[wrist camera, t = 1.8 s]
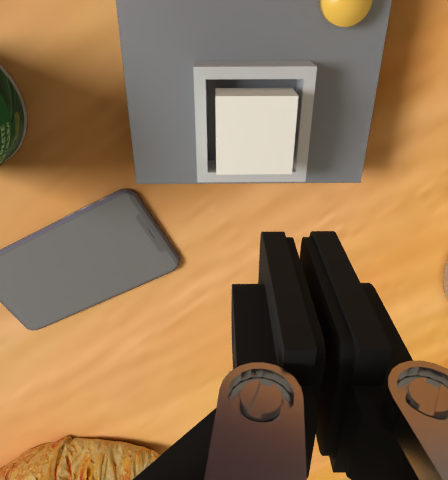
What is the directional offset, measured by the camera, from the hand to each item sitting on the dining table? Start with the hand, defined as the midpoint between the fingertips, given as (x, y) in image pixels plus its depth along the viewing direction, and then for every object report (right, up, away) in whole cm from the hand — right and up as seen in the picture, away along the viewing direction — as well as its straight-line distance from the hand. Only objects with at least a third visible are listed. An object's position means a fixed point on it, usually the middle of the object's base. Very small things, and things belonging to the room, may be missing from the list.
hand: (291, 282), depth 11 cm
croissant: (-18, -23, +36) cm, 46 cm away
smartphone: (-13, -1, +23) cm, 26 cm away
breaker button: (0, +7, +13) cm, 15 cm away
